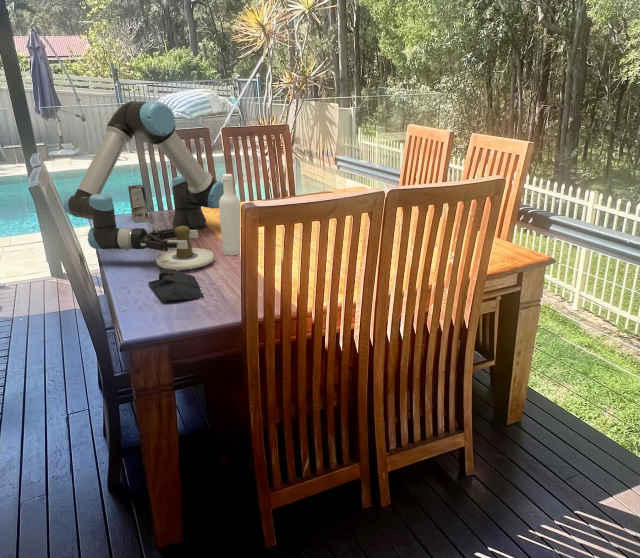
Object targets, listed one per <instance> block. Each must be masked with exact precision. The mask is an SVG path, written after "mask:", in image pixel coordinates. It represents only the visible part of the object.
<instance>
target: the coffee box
mask: <svg viewBox="0 0 640 558" xmlns="http://www.w3.org/2000/svg"><path fill="white" fill-rule="evenodd" d="M127 189H128V195H129V203H130V210H131V216H132V220H133V221H135V222H137V223H145V221H147V222H149V216H148V215H149V214H148V207H147V198H146V190H145V187H144V186H143V185H142V184H136V185H135V184H133V185H128V187H127ZM135 222H134V223H135Z"/></svg>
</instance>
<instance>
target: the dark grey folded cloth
mask: <svg viewBox="0 0 640 558" xmlns="http://www.w3.org/2000/svg"><path fill="white" fill-rule="evenodd" d="M147 284H148V285H149V286H150V289H151V290H152V291H153V292H154V293H155V294H156V296H158V297H159V299H160V300H162V301H163V302H166V303H168V301H169V302H174V301H175V302H176V301H192V300H191V299H195V300H199V299H198V298H200V297H203V295H204V294H203V292H202V293H201V291H202V289H201V290H200V288H201V286H200V284H199V283H198V281H197V279H196V277H195V275H192V274H187V273H185V272H184V273H183V271H176V270H170V269H165V268H162V269H160V272H159V273H158V279H154V280H151V281H148V283H147ZM200 299H201V298H200Z"/></svg>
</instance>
